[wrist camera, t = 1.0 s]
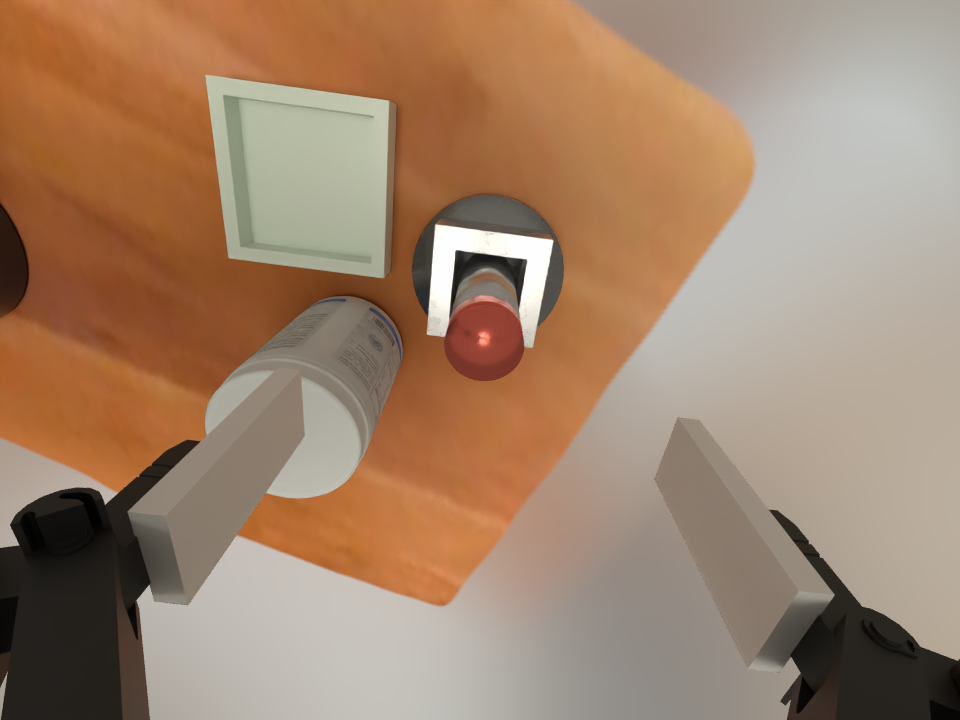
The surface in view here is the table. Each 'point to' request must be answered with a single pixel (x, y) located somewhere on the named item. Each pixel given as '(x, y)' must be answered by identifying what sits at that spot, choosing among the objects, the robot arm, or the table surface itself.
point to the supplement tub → (324, 388)
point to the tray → (304, 175)
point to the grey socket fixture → (496, 232)
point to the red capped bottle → (485, 320)
